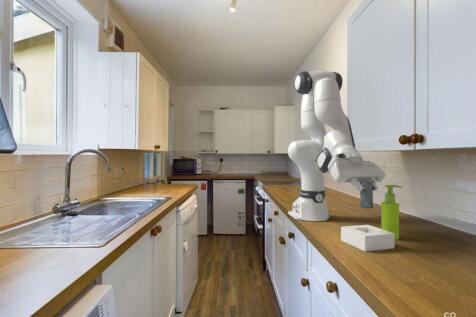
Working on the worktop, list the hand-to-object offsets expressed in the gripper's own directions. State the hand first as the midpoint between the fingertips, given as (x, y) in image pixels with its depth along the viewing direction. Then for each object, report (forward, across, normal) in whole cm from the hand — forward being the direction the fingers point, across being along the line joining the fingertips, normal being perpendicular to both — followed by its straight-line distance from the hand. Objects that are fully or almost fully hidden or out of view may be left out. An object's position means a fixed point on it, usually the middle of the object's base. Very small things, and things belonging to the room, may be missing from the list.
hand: (369, 189), depth 93 cm
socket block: (+13, 0, -14) cm, 19 cm away
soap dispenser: (+10, -15, -17) cm, 25 cm away
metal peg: (+4, 0, -5) cm, 6 cm away
